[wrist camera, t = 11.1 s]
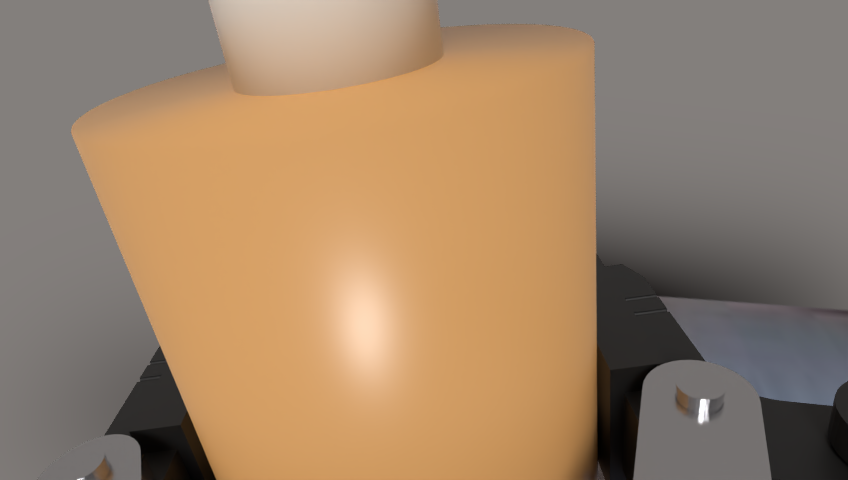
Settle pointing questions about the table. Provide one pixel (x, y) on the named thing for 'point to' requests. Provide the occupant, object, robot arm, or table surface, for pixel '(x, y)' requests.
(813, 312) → the table surface
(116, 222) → the orange capped bottle
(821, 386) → the table surface
